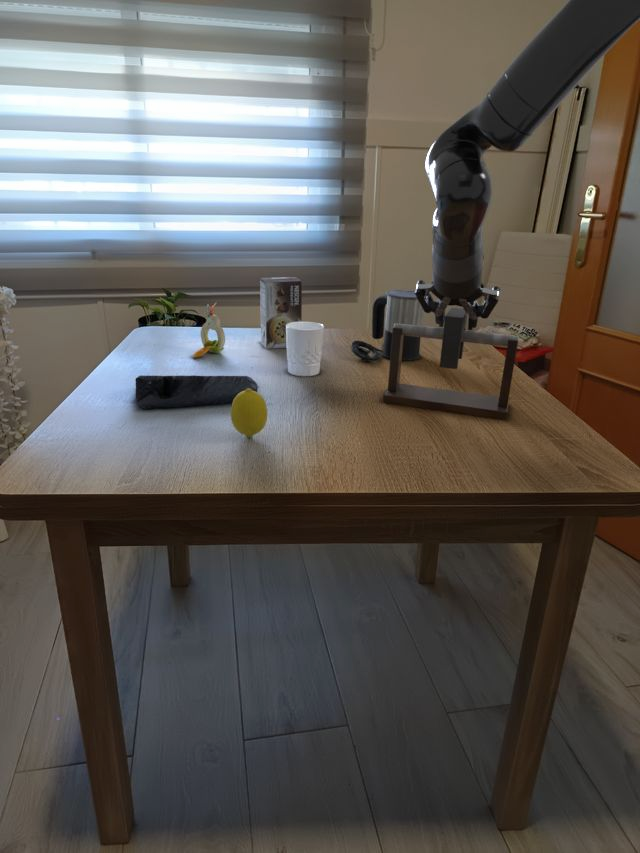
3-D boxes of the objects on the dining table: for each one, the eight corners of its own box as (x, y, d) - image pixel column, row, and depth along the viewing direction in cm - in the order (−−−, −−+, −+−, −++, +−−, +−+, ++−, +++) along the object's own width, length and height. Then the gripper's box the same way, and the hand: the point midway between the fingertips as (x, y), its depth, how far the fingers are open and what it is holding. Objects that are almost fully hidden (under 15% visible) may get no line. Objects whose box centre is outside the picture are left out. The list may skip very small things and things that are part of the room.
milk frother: (426, 355, 138) (433, 292, 132) (400, 370, 125) (406, 302, 120) (373, 346, 145) (377, 286, 139) (343, 359, 132) (346, 294, 126)
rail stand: (508, 405, 107) (520, 331, 101) (506, 420, 100) (519, 341, 94) (392, 389, 113) (398, 319, 108) (382, 402, 106) (388, 327, 101)
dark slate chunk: (260, 408, 101) (260, 383, 99) (130, 411, 97) (128, 385, 96) (255, 381, 115) (255, 358, 113) (142, 383, 111) (140, 359, 110)
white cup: (288, 378, 118) (288, 330, 114) (282, 367, 125) (283, 321, 121) (325, 376, 119) (327, 329, 115) (318, 366, 126) (319, 321, 123)
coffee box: (294, 341, 147) (296, 276, 140) (301, 347, 141) (303, 280, 135) (259, 342, 144) (259, 276, 138) (265, 349, 138) (265, 280, 132)
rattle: (181, 352, 133) (178, 302, 129) (213, 347, 138) (211, 299, 134) (195, 359, 128) (193, 308, 123) (228, 354, 132) (227, 305, 128)
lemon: (264, 429, 92) (264, 382, 89) (269, 443, 87) (269, 393, 84) (230, 431, 91) (228, 383, 88) (232, 445, 86) (231, 395, 83)
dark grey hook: (439, 367, 100) (445, 316, 97) (445, 355, 107) (451, 307, 104) (456, 369, 99) (463, 317, 96) (462, 357, 106) (468, 309, 103)
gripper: (405, 277, 88) (412, 337, 103) (502, 285, 84) (494, 346, 99) (415, 239, 91) (420, 303, 106) (509, 244, 87) (500, 310, 102)
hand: (456, 324), depth 103 cm, fingers open, 4 cm apart
